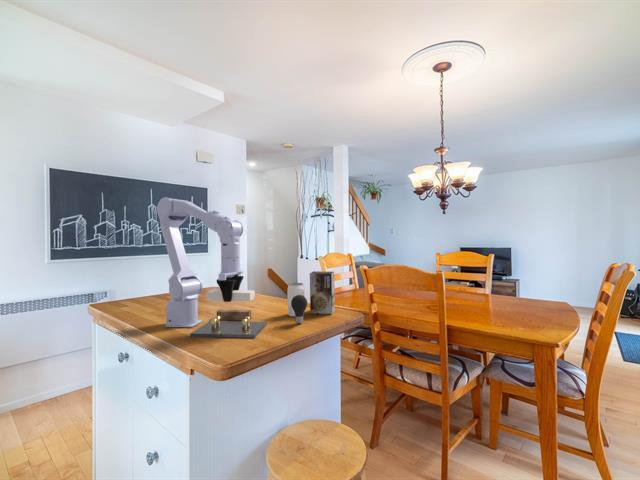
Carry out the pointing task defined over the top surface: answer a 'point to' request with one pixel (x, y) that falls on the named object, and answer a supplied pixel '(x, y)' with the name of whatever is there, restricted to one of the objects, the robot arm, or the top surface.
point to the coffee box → (322, 292)
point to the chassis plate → (229, 329)
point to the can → (292, 292)
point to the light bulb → (299, 307)
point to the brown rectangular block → (233, 314)
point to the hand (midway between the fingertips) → (230, 299)
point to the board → (236, 295)
